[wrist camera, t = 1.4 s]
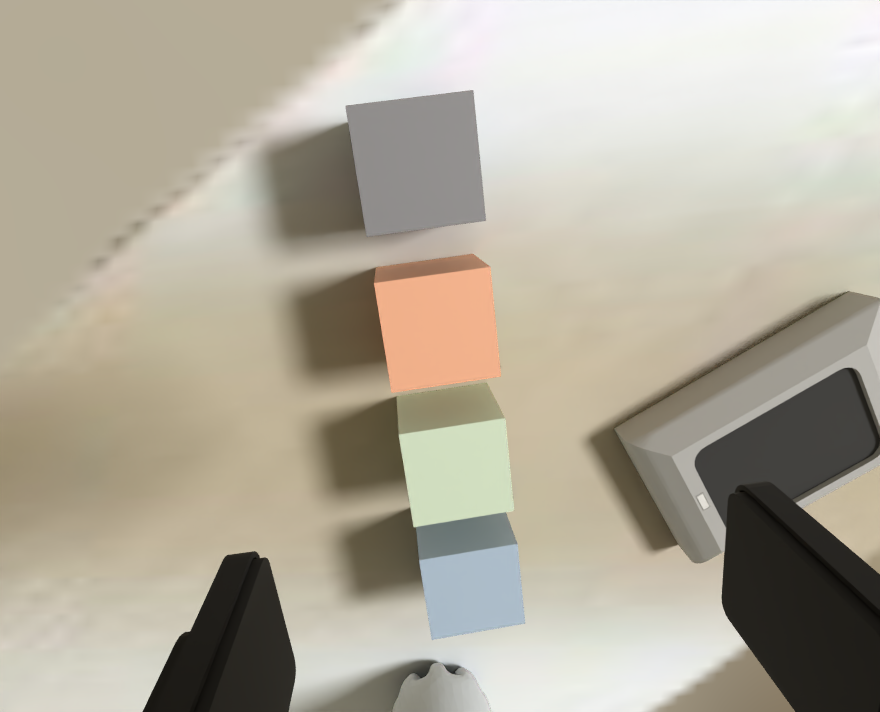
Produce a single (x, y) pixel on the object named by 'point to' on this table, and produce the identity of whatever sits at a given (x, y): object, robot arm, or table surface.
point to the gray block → (417, 162)
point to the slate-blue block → (470, 575)
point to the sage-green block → (454, 454)
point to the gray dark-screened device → (765, 423)
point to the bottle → (441, 692)
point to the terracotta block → (437, 322)
